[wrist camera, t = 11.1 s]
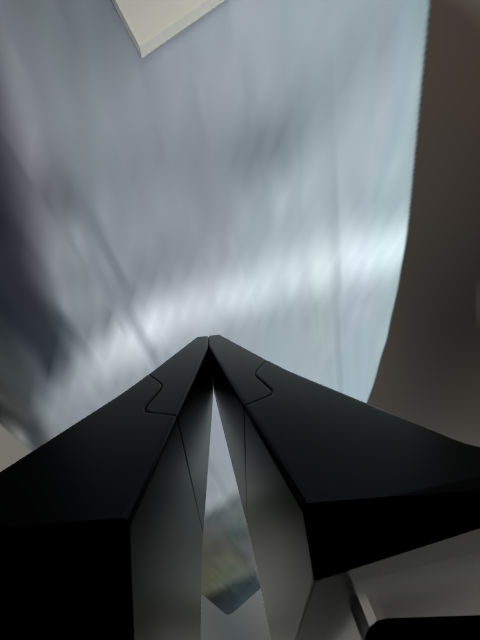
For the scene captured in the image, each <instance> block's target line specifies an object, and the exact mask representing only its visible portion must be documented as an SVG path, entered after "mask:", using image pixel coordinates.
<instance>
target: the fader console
mask: <svg viewBox="0 0 480 640" xmlns="http://www.w3.org/2000/svg"><path fill="white" fill-rule="evenodd" d="M111 1H112V3H113V5H114V7H115V8H116V10H117V12H118V14H119V16H120V18H121V20H122V22H123V24H124V25H125V27H126V29H127V31H128V33H129V35H130V37H131V39H132V41H133V43H134V44H135V46H136V48H137V50H138V52H139V54H140V56H141V58H143V57H145V56H146V55H147V54H149V53H150V52H152V51H153V50H155V49H156V48H157V47H159V46H160V45H162V44H163V43H165V42H166V41H167V40H169V39H170V38H172V37H173V36H175V35H176V34H177V33H179V32H180V31H182V30H183V29H185V28H186V27H188V26H189V25H190V24H192V23H193V22H195V21H196V20H198V19H199V18H200V17H202V16H203V15H205V14H206V13H208V12H209V11H210V10H212V9H213V8H215V7H216V6H218V5H219V4H220V3H222V2H223V1H225V0H111Z"/></svg>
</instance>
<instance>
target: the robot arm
mask: <svg viewBox="0 0 480 640" xmlns="http://www.w3.org/2000/svg"><path fill="white" fill-rule="evenodd" d="M212 379H213V380H212ZM213 388H214V393H215V398H216V402H217V406H218V410H219V414H220V418H221V422H222V426H223V430H224V434H225V438H226V442H227V446H228V450H229V454H230V458H231V462H232V466H233V470H234V474H235V478H236V482H237V486H238V490H239V494H240V498H241V502H242V506H243V510H244V513H245V517H246V521H247V524H248V529H249V534H250V538H251V542H252V547H253V551H254V556H255V561H256V566H257V571H258V576H259V581H260V586H261V591H262V596H263V601H264V606H265V611H266V616H267V621H268V626H269V631H270V636H271V640H480V447H477V446H473V445H469V444H465V443H462V442H460V441H457V440H454V439H452V438H449V437H447V436H444V435H442V434H440V433H437V432H435V431H432V430H430V429H427V428H425V427H423V426H420V425H418V424H415V423H412V422H410V421H408V420H405V419H403V418H401V417H398V416H396V415H393V414H391V413H388V412H386V411H384V410H381V409H379V408H376V407H374V406H372V405H369V404H367V403H364V402H362V401H359V400H357V399H355V398H352V397H350V396H347V395H345V394H342V393H340V392H338V391H335V390H333V389H330V388H328V387H325V386H323V385H321V384H318V383H316V382H313V381H311V380H308V379H306V378H304V377H301V376H299V375H296V374H294V373H292V372H290V371H287V370H285V369H283V368H281V367H279V366H277V365H275V364H273V363H271V362H269V361H267V360H265V359H263V358H261V357H259V356H258V355H256V354H254V353H252V352H250V351H248V350H246V349H245V348H243V347H241V346H239V345H237V344H235V343H233V342H232V341H230V340H228V339H226V338H224V337H222V336H220V335H213V336H209V338H208V337H207V336H203V337H197V338H196V339H194V340H193V341H192V342H191V343H189V344H188V345H187V346H185V347H184V348H183V349H181V350H180V351H179V352H178V353H176V354H175V355H174V356H172V357H171V358H170V359H169V360H167V361H166V362H165V363H163V364H162V365H161V366H159V367H158V368H157V369H156V370H154V371H153V372H152V373H150V374H149V375H147V376H146V377H145V378H143V379H142V380H141V381H139V382H138V383H137V384H135V385H134V386H132V387H131V388H130V389H128V390H127V391H125V392H124V393H122V394H121V395H119V396H118V397H116V398H115V399H113V400H112V401H110V402H109V403H107V404H106V405H104V406H103V407H101V408H99V409H98V410H96V411H95V412H93V413H92V414H90V415H89V416H87V417H85V418H84V419H82V420H81V421H79V422H78V423H76V424H75V425H73V426H71V427H70V428H68V429H67V430H65V431H64V432H62V433H61V434H59V435H57V436H56V437H54V438H53V439H51V440H50V441H48V442H47V443H45V444H43V445H42V446H40V447H39V448H37V449H36V450H34V451H33V452H31V453H30V454H28V455H26V456H25V457H23V458H22V459H20V460H19V461H17V462H16V463H14V464H12V465H11V466H9V467H8V468H6V469H5V470H3V471H2V472H0V640H201V563H202V541H203V527H204V514H205V500H206V486H207V472H208V458H209V445H210V431H211V417H212V403H213Z"/></svg>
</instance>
